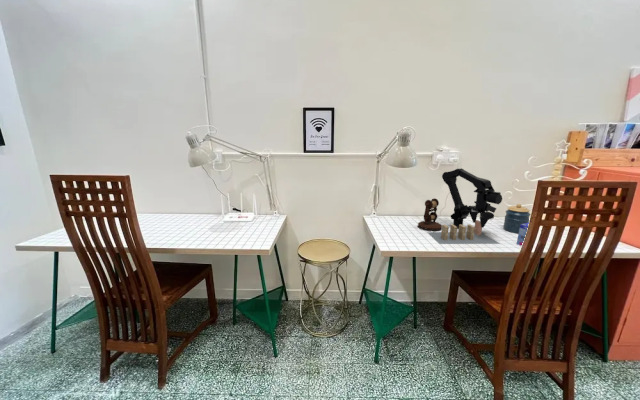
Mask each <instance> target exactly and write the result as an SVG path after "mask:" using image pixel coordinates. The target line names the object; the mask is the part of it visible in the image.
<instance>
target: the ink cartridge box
mask: <svg viewBox="0 0 640 400" xmlns="http://www.w3.org/2000/svg"><path fill="white" fill-rule="evenodd" d="M528 224H529V223H524V224H521V225H520V229H519V233H517V234H518V235H517V240H516V245H518V246H521V245H522V243H523V241H524V238H525V235H526V232H527V228H528Z"/></svg>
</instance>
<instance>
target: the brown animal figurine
mask: <svg viewBox="0 0 640 400" xmlns="http://www.w3.org/2000/svg"><path fill="white" fill-rule="evenodd" d="M439 204H440V202H439V199H437V198H435V197H434V198H432V199H431V200H430V199H426V200H425V202H424V206H425V210H424V213H423V220H422V221H420V222H417V225H418V228H419V227H420V228H421V229H425V230H429V231H431V232H434V231H436V230H442V225H443V224H441V223H439V222H436V220H437V219H438V214H437V211H438V208H437V207H438V206H439Z"/></svg>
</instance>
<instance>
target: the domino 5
mask: <svg viewBox="0 0 640 400" xmlns="http://www.w3.org/2000/svg"><path fill="white" fill-rule="evenodd" d="M474 227H475V230H474V233H476V234H477V235H481V232H482V231H483V230H482V229H483V228H482V227H481V222H480V220H479V219H478V220H477V219H476V220H475V223H474Z"/></svg>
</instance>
